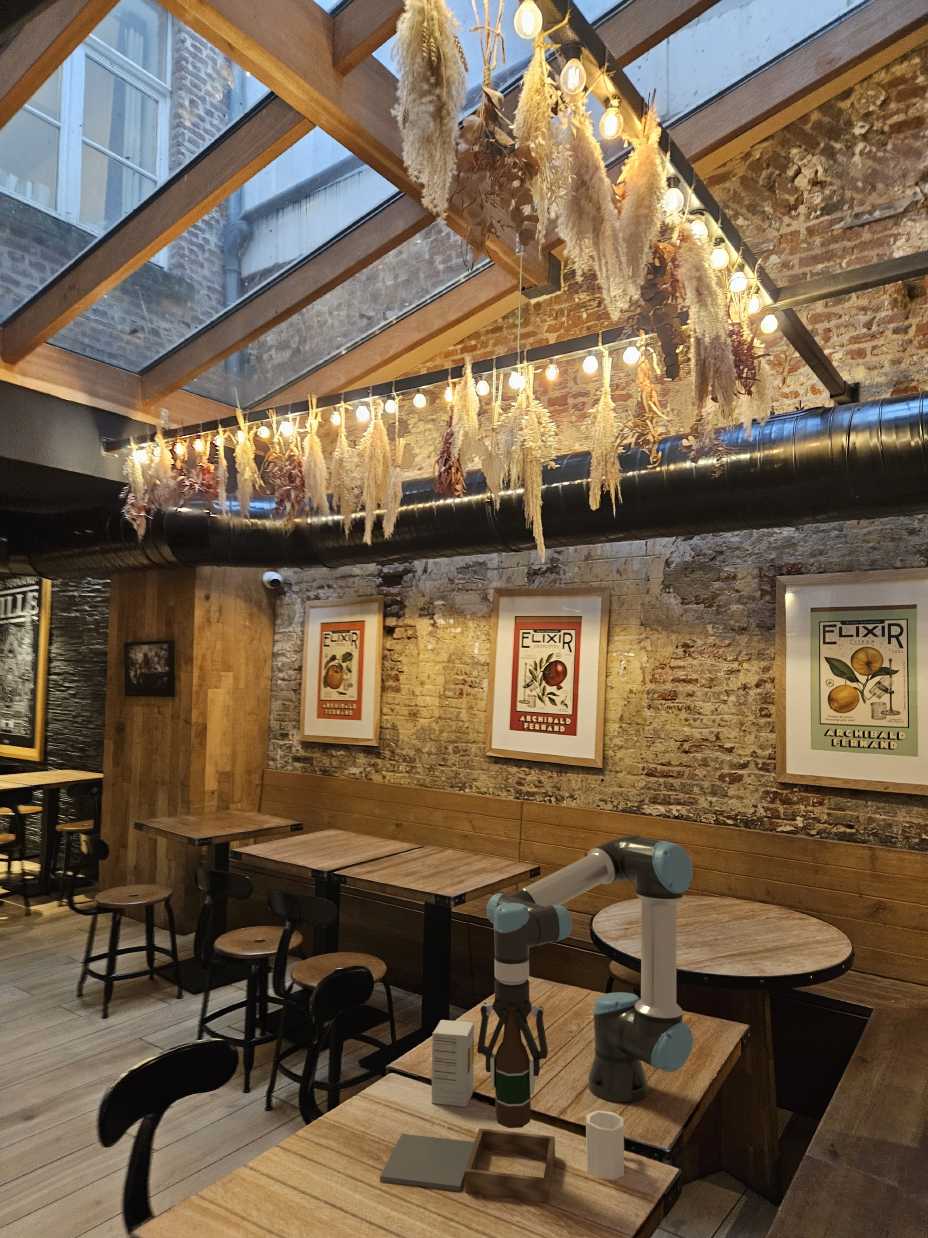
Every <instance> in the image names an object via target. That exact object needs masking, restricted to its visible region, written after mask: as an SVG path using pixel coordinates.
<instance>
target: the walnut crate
mask: <svg viewBox="0 0 928 1238" xmlns="http://www.w3.org/2000/svg"><path fill="white" fill-rule="evenodd" d="M473 1142H474V1145H473V1148H472V1151H471V1154H470V1157H469V1160H468V1163H467V1166H466V1169H465V1178H464V1193H468V1194H477V1195H484V1196H485V1195H487V1196H495V1197H503V1198H510V1199H517V1200H526V1201H535V1202H540V1203H541V1202H543V1203H549V1200H550V1199H549V1198H550V1192H551V1186H552V1185H551V1184H552V1178H553V1171H554V1165H555V1158H556V1136H555V1135H554V1136H553V1135H544V1134H542V1135H541V1134H535V1133H523V1132H515V1131H510V1130H509V1131H508V1130H507V1131H506V1130H499V1129H498V1130H497V1129H488V1128H481V1127H480V1128H478V1131H477V1134H476V1136H475V1139H474V1141H473ZM483 1151H489V1152H498V1153H506V1154H513V1155H514V1154H515V1155H520V1156H521V1155H523V1156H532V1157H538V1158H539V1157H540V1158H541V1157H542V1158H546V1159H545V1160H546V1161H545V1167H544V1173H543V1177H542V1176H541V1177H539V1176H532V1175H524V1174H516V1173H508V1172H507V1173H506V1172H499V1171H492V1170H490V1171H489V1170H481V1169H478V1167H479V1163H480V1160H481V1157H482V1153H483Z"/></svg>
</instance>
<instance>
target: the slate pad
mask: <svg viewBox="0 0 928 1238" xmlns="http://www.w3.org/2000/svg"><path fill="white" fill-rule="evenodd" d="M474 1142H475V1141H471V1140H462V1139H461V1140H460V1139H454V1138H442V1137H437V1136H436V1137H435V1136H425V1135H417V1134H416V1135H415V1134H411V1133H410V1134H409V1133H401V1134H400V1136H399V1138H398V1140H397V1142H396V1144H395V1146H394V1148H393V1150H392V1152H391V1154H390V1156H389V1158H388V1159H387V1162H386V1163H385V1166H384V1168H383V1170H382V1171H381V1174H380V1176H379V1182H382V1183H383V1182H384V1183H391V1184H399V1185H406V1186H414V1187H421V1188H422V1187H423V1188H430V1189H431V1188H432V1189H438V1190H447V1191H454V1192H461V1189H462V1187H463V1183H464V1182H465V1169H466V1166H467V1163H468V1160H469V1157H470V1154H471V1151H472V1148H473V1145H474Z"/></svg>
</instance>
